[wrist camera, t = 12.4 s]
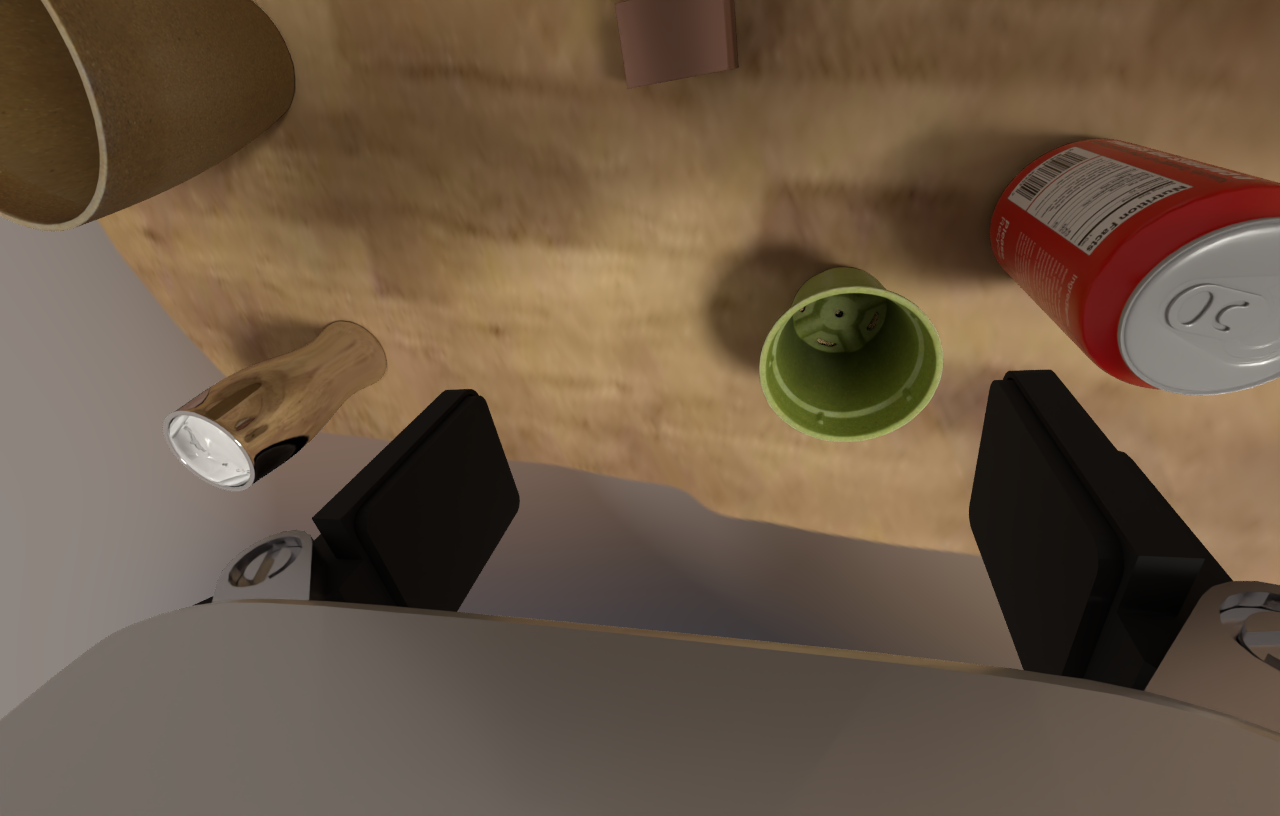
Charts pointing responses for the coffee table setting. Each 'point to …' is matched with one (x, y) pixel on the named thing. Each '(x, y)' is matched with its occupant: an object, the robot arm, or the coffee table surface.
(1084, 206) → the soda can
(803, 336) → the plant pot
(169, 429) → the beer glass
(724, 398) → the coffee table surface
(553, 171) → the coffee table surface
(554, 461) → the coffee table surface
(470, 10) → the coffee table surface
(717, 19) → the cube with stick handle
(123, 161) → the plant pot
